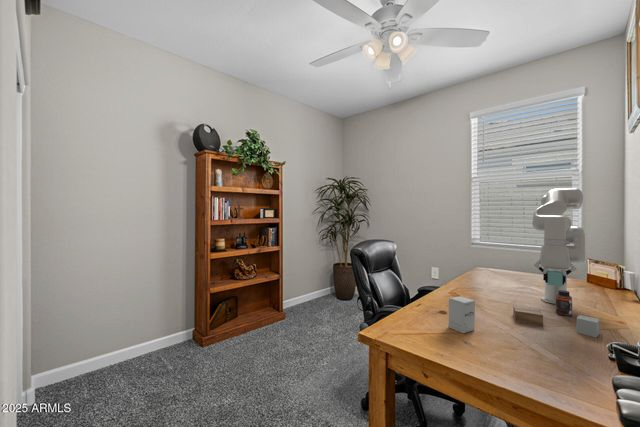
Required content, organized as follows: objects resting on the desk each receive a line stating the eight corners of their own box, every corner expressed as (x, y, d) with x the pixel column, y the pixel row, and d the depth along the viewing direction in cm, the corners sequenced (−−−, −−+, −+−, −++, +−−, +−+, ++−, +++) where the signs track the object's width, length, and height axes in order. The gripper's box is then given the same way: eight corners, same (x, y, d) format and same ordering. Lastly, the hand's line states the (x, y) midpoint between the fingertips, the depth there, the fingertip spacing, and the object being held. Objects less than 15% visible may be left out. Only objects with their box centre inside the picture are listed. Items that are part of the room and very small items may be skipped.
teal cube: (546, 282, 130) (547, 269, 130) (561, 284, 127) (561, 271, 127) (547, 284, 126) (547, 271, 126) (562, 286, 123) (562, 272, 123)
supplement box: (463, 334, 113) (464, 302, 113) (447, 327, 120) (448, 297, 120) (475, 330, 117) (475, 300, 117) (459, 324, 123) (459, 295, 123)
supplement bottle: (575, 317, 133) (575, 293, 132) (560, 316, 134) (560, 292, 134) (566, 312, 138) (567, 289, 138) (553, 311, 140) (553, 289, 140)
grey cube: (579, 328, 119) (579, 314, 119) (599, 333, 114) (599, 319, 114) (576, 332, 115) (576, 318, 115) (596, 337, 111) (596, 322, 111)
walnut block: (513, 315, 136) (513, 304, 136) (539, 319, 130) (539, 308, 130) (515, 321, 127) (515, 310, 127) (542, 326, 122) (543, 315, 122)
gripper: (578, 243, 125) (578, 284, 125) (530, 241, 134) (530, 279, 134) (581, 245, 118) (581, 288, 118) (531, 242, 128) (531, 282, 128)
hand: (554, 282), depth 126 cm, fingers closed on teal cube, 5 cm apart
